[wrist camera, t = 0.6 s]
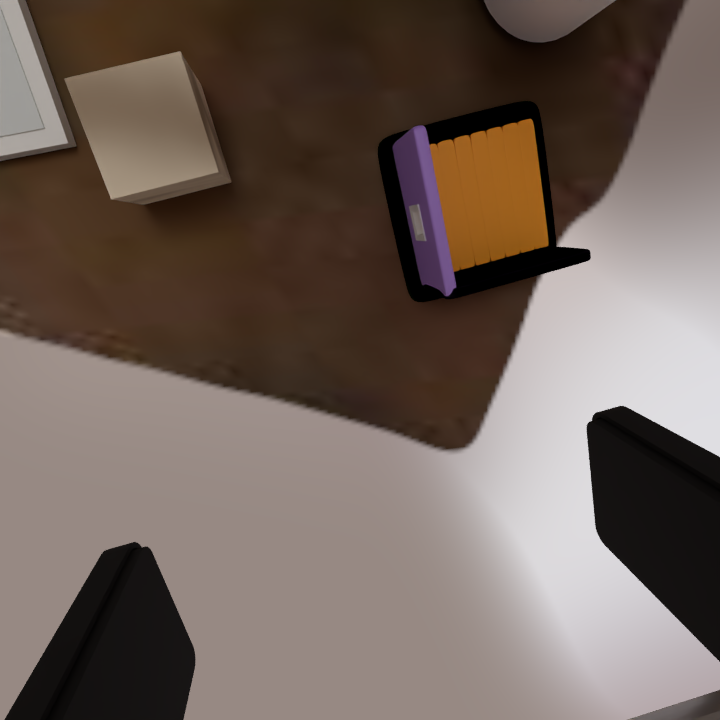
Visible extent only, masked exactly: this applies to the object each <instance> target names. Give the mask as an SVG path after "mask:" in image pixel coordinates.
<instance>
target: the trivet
mask: <svg viewBox="0 0 720 720" xmlns="http://www.w3.org/2000/svg"><path fill="white" fill-rule="evenodd" d="M76 146H77V145H76V143H75V140H74V137H73V134H72V131H71V128H70V125H69V123H68V120H67V117H66V114H65V111H64V108H63V105H62V103H61V100H60V97H59V94H58V91H57V88H56V86H55V83H54V80H53V77H52V74H51V71H50V68H49V66H48V63H47V60H46V57H45V54H44V51H43V48H42V46H41V43H40V40H39V37H38V34H37V31H36V28H35V26H34V23H33V20H32V17H31V14H30V11H29V9H28V6H27V3H26V0H0V161H3V160H8V159H14V158H19V157H24V156H29V155H34V154H40V153H45V152H50V151H55V150H60V149H66V148H71V147H76Z"/></svg>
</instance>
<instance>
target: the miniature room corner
mask: <svg viewBox="0 0 720 720" xmlns="http://www.w3.org/2000/svg"><path fill="white" fill-rule="evenodd" d="M378 158H379V164H380V170H381V175H382V180H383V185H384V189H385V194H386V199H387V203H388V208H389V213H390V217H391V222H392V226H393V230H394V235H395V239H396V244H397V248H398V252H399V257H400V261H401V265H402V269H403V273H404V278H405V281H406V285H407V289H408V292H409V294H410V296H411V298H412V299H413V300H414V301H417V302H426V301H431V300H435V299H439V298H445V299H454V298H458V297H462V296H466V295H469V294H473V293H477V292H480V291H484V290H487V289H491V288H494V287H498V286H502V285H505V284H509V283H512V282H516V281H519V280H523V279H526V278H530V277H534V276H537V275H541V274H544V273H547V272H551V271H555V270H558V269H562V268H565V267H569V266H572V265H576V264H579V263H582V262H586V261H588V260H590V258H591V257H590V251H589V250H588V249H579V248H566V247H557V246H556V235H555V225H554V216H553V208H552V199H551V191H550V182H549V174H548V166H547V159H546V151H545V143H544V136H543V129H542V123H541V117H540V112H539V109H538V107H537V105H536V104H535V103H533V102H531V101H523V102H517V103H512V104H507V105H503V106H499V107H495V108H491V109H486V110H482V111H478V112H474V113H470V114H466V115H463V116H459V117H455V118H451V119H447V120H443V121H439V122H436V123H432V124H428V125H424V126H422V125H419V126H415V127H413V128H412V129H410V130H406V131H403V132H400V133H396V134H393V135H391V136H388V137H386V138H385V139H383V140H382V141H381V142H380V143H379V147H378Z"/></svg>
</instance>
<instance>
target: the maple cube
mask: <svg viewBox="0 0 720 720" xmlns="http://www.w3.org/2000/svg"><path fill="white" fill-rule="evenodd" d="M65 82H66V84H67V87H68V89H69V92H70V95H71V97H72V100H73V102H74V105H75V107H76V110H77V113H78V115H79V118H80V120H81V123H82V125H83V128H84V131H85V133H86V136H87V138H88V141H89V143H90V146H91V148H92V151H93V154H94V156H95V159H96V161H97V164H98V166H99V169H100V172H101V174H102V177H103V179H104V182H105V184H106V187H107V190H108V192H109V195H110V197H111V199H112V200H118V201H124V202H130V203H136V204H142V205H145V204H149V203H153V202H157V201H161V200H165V199H169V198H173V197H177V196H180V195H184V194H188V193H192V192H196V191H200V190H204V189H208V188H212V187H216V186H220V185H224V184H227V183H231V178H230V175H229V172H228V169H227V166H226V162H225V159H224V156H223V153H222V150H221V146H220V143H219V140H218V137H217V134H216V131H215V127H214V124H213V121H212V118H211V115H210V111H209V108H208V105H207V102H206V99H205V95H204V92H203V89H202V86H201V84H200V82H199V81H198V79H197V77H196V76H195V74H194V73H193V71H192V69H191V68H190V66H189V65H188V63H187V61H186V60H185V58H184V57H183V55H182V53H181V52H175V53H171V54H167V55H163V56H158V57H154V58H150V59H146V60H141V61H137V62H133V63H129V64H124V65H120V66H116V67H112V68H107V69H103V70H99V71H95V72H90V73H86V74H82V75H78V76H73V77H69V78H65Z"/></svg>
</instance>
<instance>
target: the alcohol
mask: <svg viewBox="0 0 720 720" xmlns="http://www.w3.org/2000/svg"><path fill="white" fill-rule="evenodd" d="M614 1H616V0H484V2H485V4H486V6H487V8H488V10H489V12H490V14H491V15H492V16H493V18H494V19H495V20H496V22H497V23H498V24H499V25H500V26H501V27H502V28H503V29H504V30H506V31H507V32H508V33H510V34H511V35H513V36H515V37H517V38H519V39H522V40H525V41H529V42H542V43H543V42H548V41H553V40H557V39H559V38H561V37H563V36H565V35H567V34H569V33H570V32H572V31H573V30H575V29H576V28H577V27H579V26H580V25H582V24H583V23H584V22H586V21H587V20H589V19H590V18H592V17H593V16H594V15H596V14H597V13H599V12H600V11H601V10H603V9H604V8H606V7H607V6H608V5H610V4H611V3H613V2H614Z"/></svg>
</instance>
